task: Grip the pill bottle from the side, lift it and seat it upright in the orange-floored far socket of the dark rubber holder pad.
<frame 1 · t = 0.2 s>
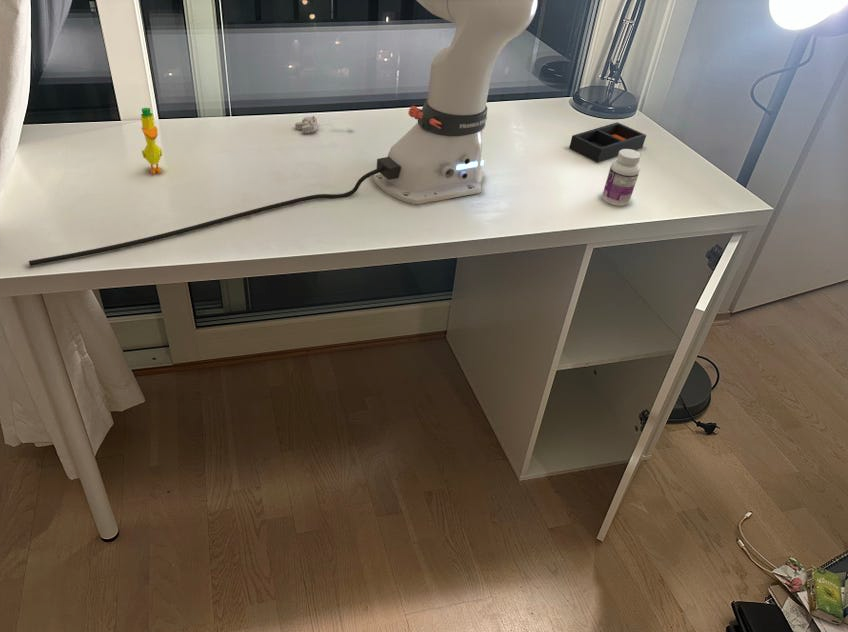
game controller: (322, 131, 154), on the table
toy figure: (155, 173, 135), on the table
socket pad: (605, 148, 156), on the table
pill bottle: (615, 200, 137), on the table
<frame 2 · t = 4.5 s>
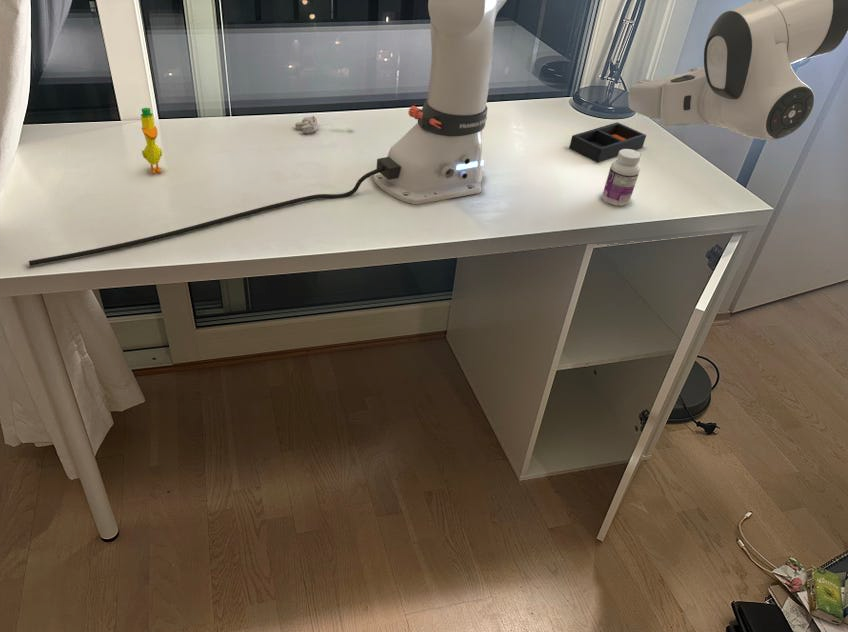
hand: (666, 79, 119), 24 cm above the table, tool horizontal, fingers open, 8 cm apart
nothing on the table moved.
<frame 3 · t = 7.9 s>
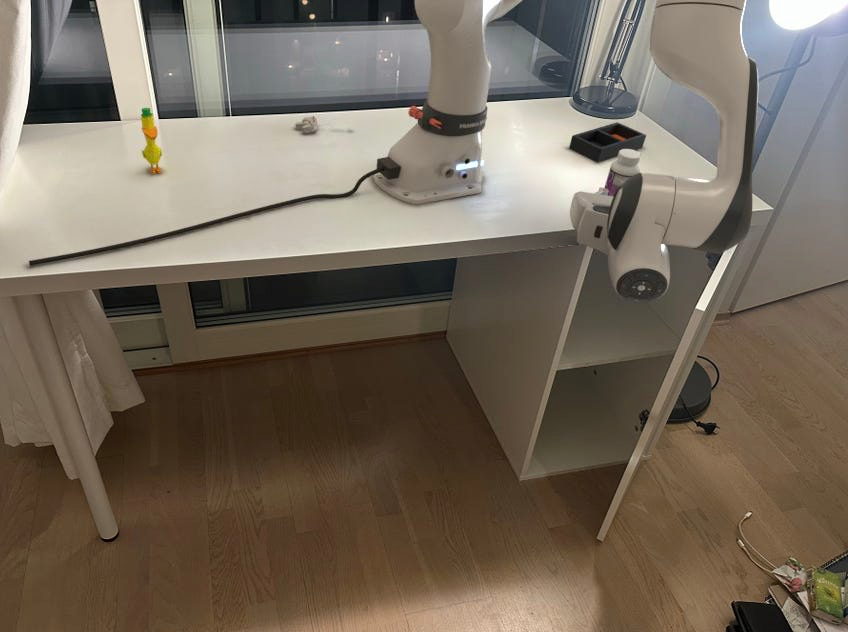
hand: (629, 195, 124), 7 cm above the table, tool horizontal, fingers open, 8 cm apart
nothing on the table moved.
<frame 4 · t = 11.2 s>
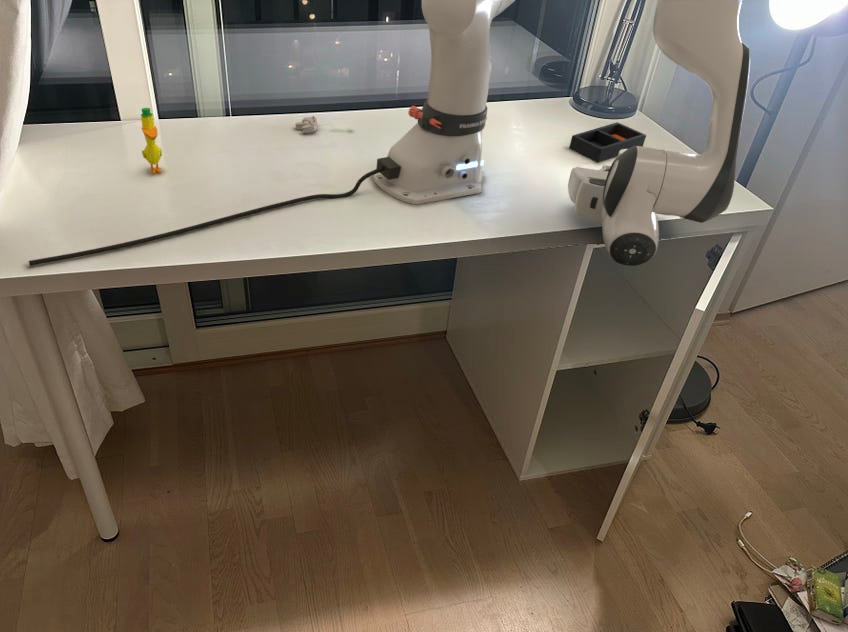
hand: (623, 171, 134), 6 cm above the table, tool horizontal, fingers closed on pill bottle, 5 cm apart
pill bottle: (615, 200, 137), on the table, touching gripper
everything else where it was.
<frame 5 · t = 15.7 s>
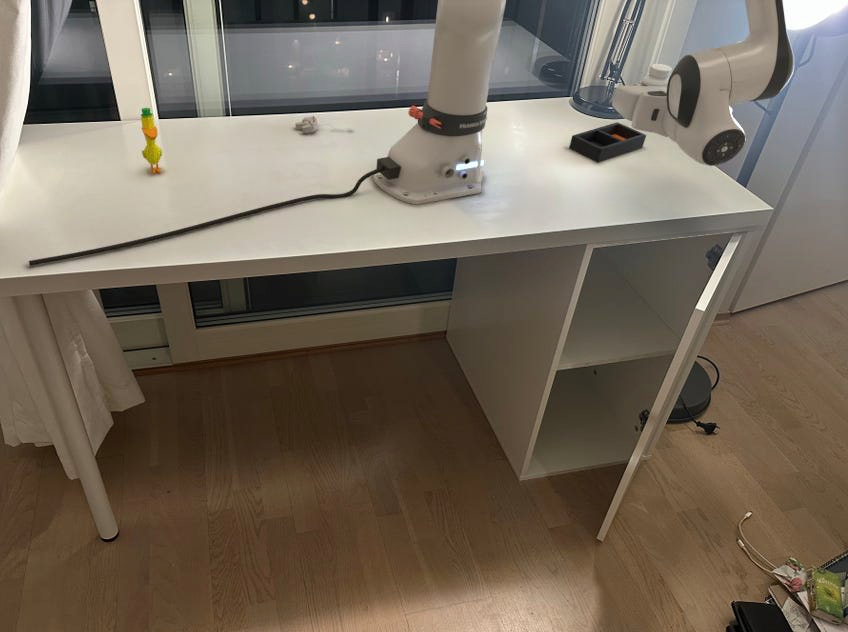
hand: (652, 86, 139), 17 cm above the table, tool horizontal, fingers closed on pill bottle, 5 cm apart
pill bottle: (645, 117, 142), point 11 cm above the table, touching gripper
everything else where it was.
when the fingers open (6 cm above the table, at t = 20.6 s): pill bottle stays where it is, resting on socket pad.
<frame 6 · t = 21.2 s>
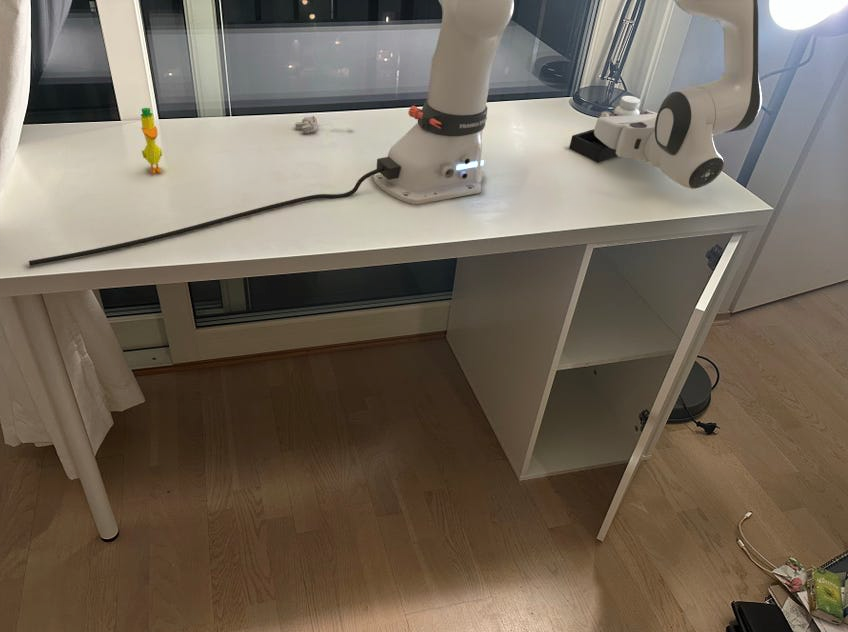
hand: (622, 113, 154), 7 cm above the table, tool horizontal, fingers open, 8 cm apart
pill bottle: (617, 142, 157), point 1 cm above the table, touching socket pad
everything else where it was.
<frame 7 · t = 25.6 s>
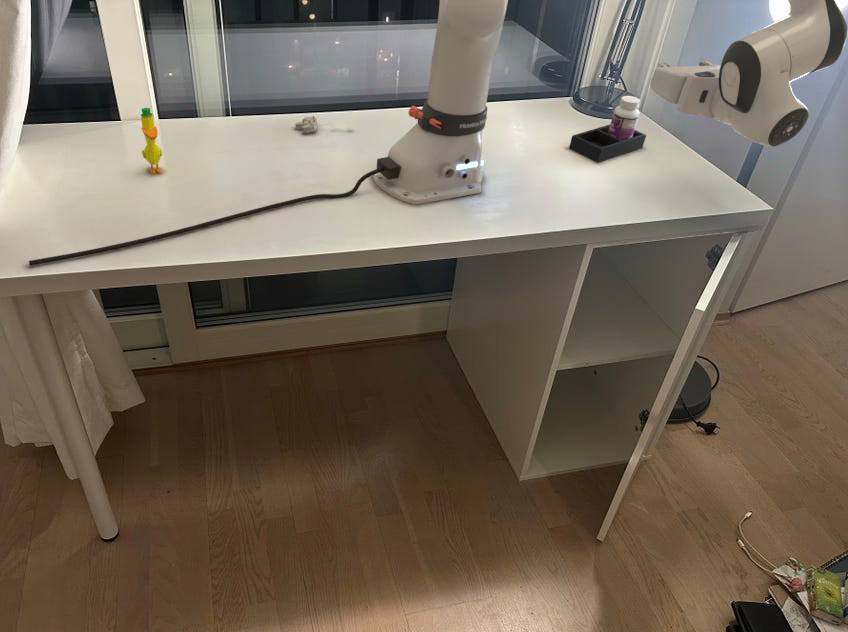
hand: (680, 66, 135), 21 cm above the table, tool horizontal, fingers open, 8 cm apart
nothing on the table moved.
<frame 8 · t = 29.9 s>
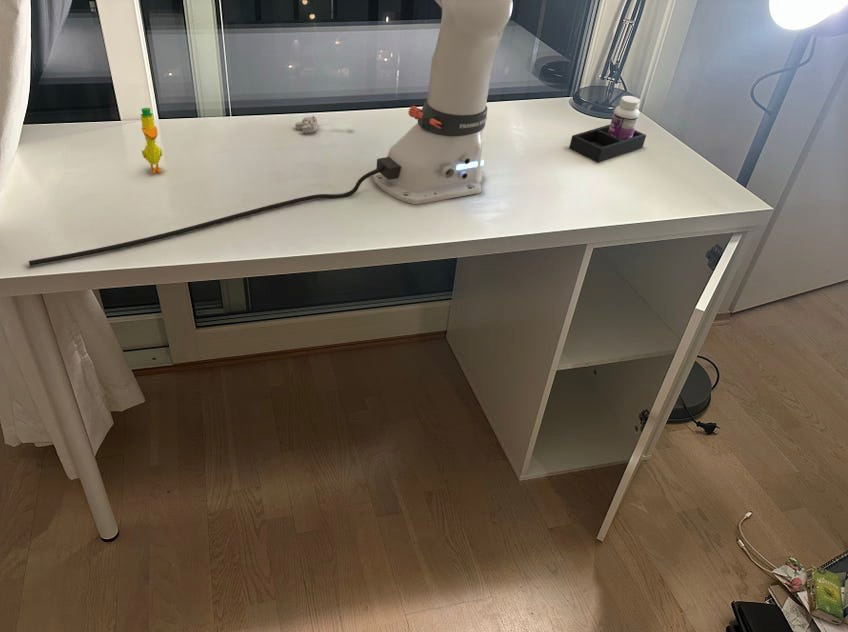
nothing on the table moved.
at the end: pill bottle 0.1 cm from the target spot in the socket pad, point 0.5 cm above the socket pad's base; pill bottle tilted 0°; the gripper is holding nothing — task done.
